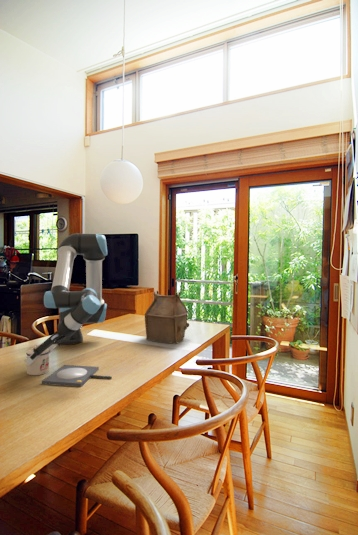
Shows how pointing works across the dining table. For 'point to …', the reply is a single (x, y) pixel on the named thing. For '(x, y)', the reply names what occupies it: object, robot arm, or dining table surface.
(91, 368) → the warming pad
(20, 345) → the dining table surface
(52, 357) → the dining table surface
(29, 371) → the teacup with lid
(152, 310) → the hut
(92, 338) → the dining table surface
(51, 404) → the dining table surface
